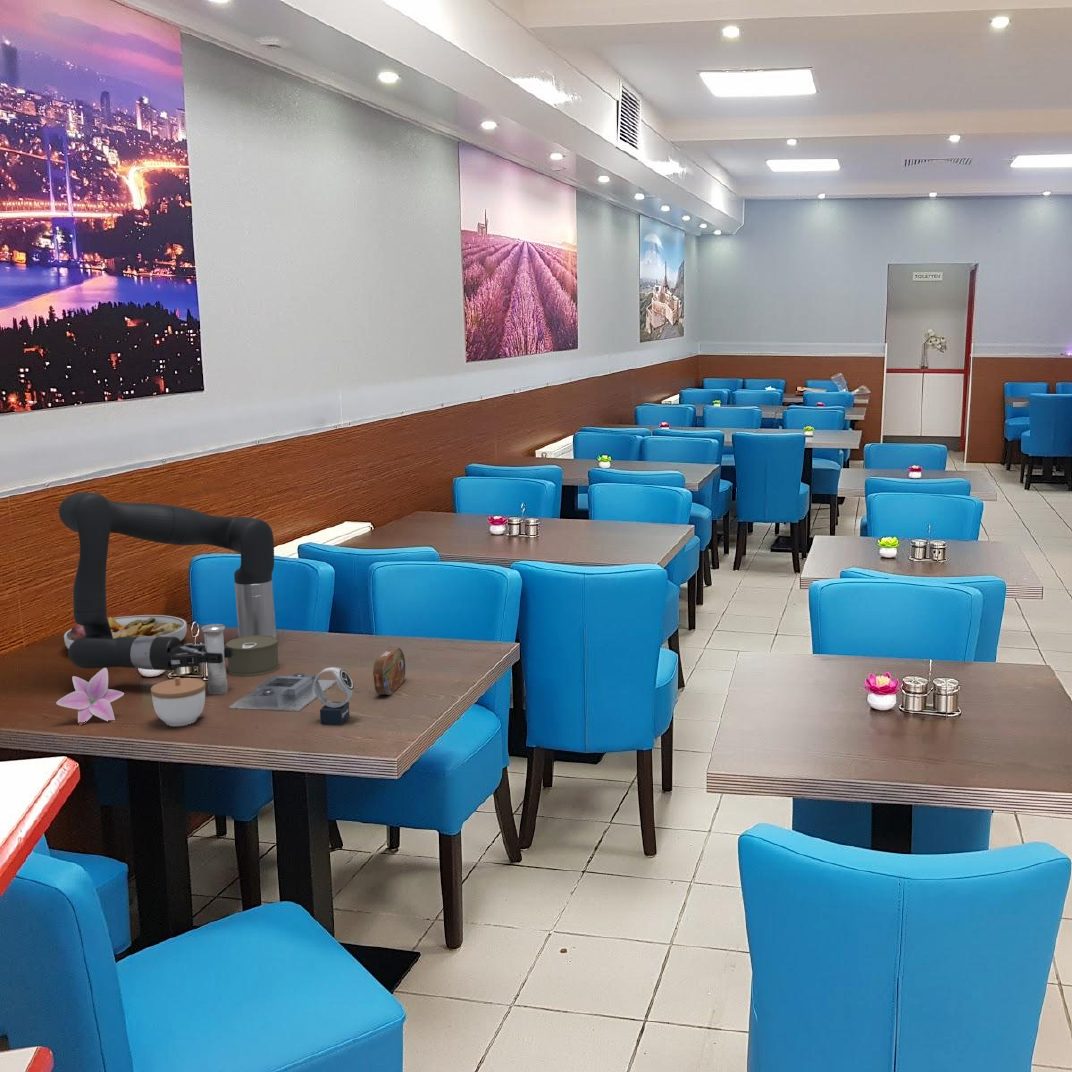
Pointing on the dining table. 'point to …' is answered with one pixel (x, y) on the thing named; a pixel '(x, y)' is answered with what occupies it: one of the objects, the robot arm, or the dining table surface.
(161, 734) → the dining table surface
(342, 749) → the dining table surface
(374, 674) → the tin
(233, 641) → the can
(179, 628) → the bowl
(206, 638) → the steel pin
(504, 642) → the dining table surface
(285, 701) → the grey fixture plate
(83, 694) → the lily
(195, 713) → the lidded jar
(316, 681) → the watch
